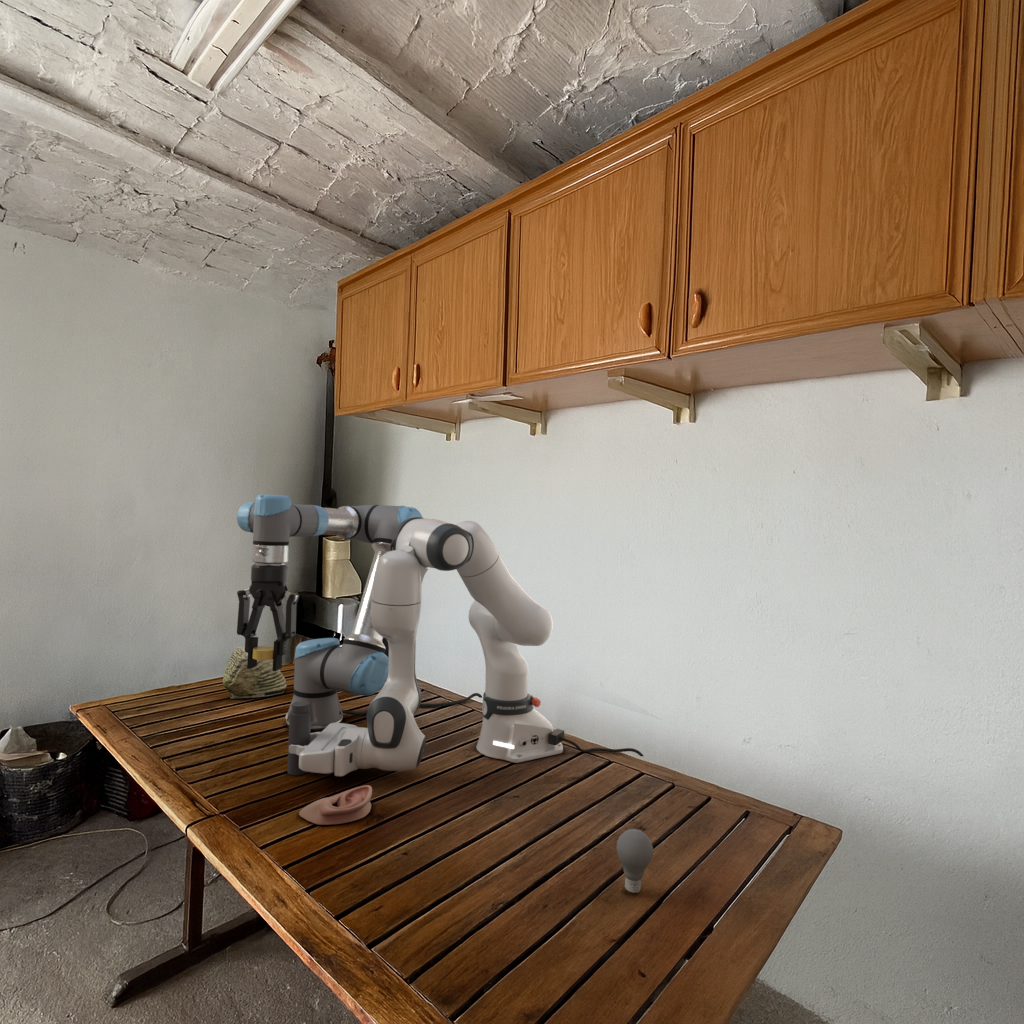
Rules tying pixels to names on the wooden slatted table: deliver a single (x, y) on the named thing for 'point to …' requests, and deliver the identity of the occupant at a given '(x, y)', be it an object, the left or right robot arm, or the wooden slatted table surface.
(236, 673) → the fossil
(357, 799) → the anatomical model
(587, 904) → the wooden slatted table surface
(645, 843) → the light bulb
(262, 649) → the lid
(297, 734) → the dark grey bottle
